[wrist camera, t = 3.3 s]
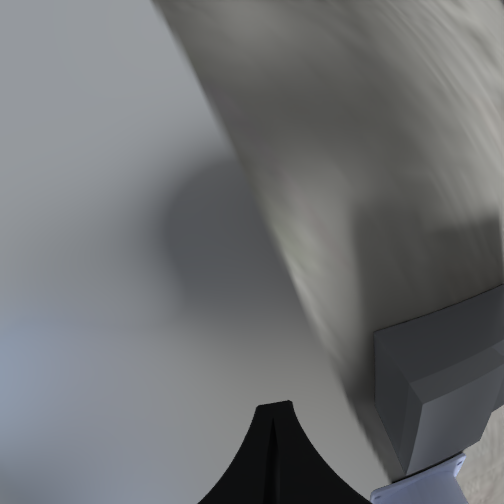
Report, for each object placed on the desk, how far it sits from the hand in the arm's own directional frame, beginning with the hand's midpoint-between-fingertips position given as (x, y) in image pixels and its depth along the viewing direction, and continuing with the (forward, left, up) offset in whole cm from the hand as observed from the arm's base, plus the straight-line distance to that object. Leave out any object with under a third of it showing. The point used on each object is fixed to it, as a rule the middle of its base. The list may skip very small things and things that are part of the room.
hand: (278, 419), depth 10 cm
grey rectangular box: (0, -9, -2) cm, 9 cm away
